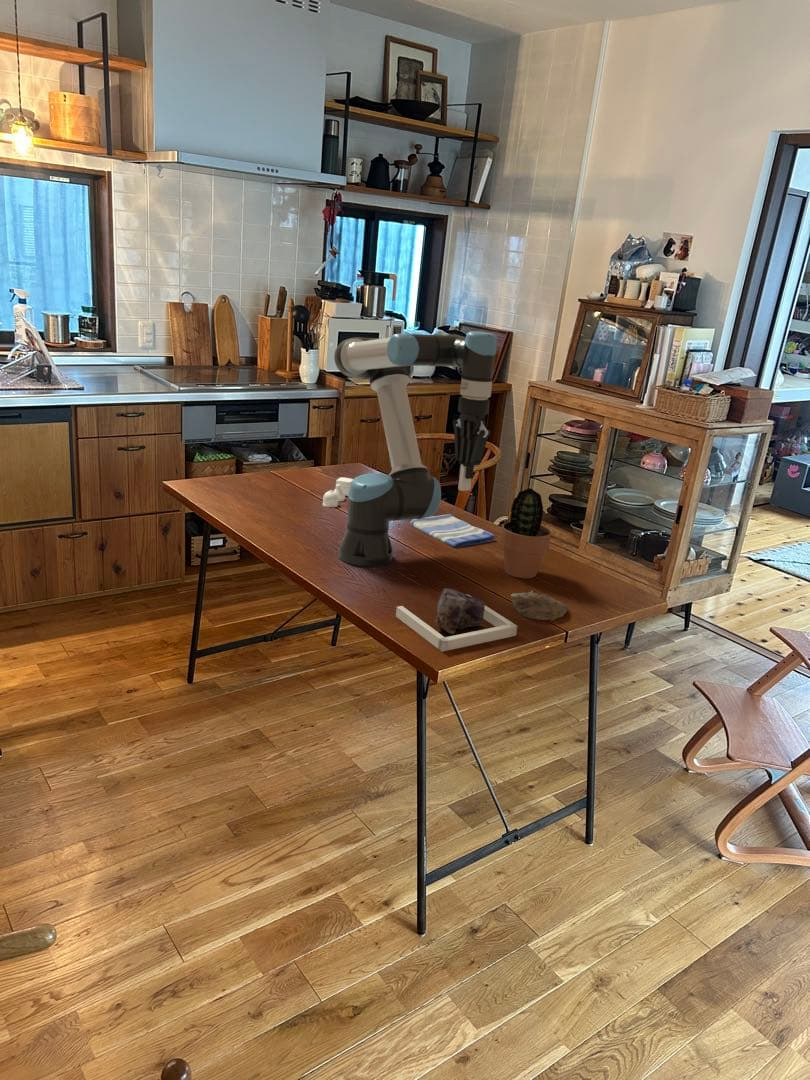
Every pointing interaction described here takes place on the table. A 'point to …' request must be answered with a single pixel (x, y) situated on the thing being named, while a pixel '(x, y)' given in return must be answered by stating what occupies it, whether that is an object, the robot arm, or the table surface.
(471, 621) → the rock
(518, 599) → the oyster shell
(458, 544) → the dish towel
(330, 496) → the container set
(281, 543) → the table surface
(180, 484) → the table surface
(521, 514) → the potted plant
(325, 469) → the table surface
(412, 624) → the bay
